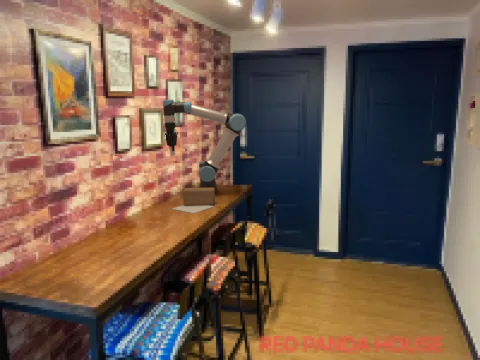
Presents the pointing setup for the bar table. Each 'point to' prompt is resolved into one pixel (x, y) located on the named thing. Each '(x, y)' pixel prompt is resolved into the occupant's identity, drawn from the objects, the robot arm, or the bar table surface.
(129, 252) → the bar table surface
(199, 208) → the mat
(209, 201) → the wooden block
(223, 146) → the robot arm
